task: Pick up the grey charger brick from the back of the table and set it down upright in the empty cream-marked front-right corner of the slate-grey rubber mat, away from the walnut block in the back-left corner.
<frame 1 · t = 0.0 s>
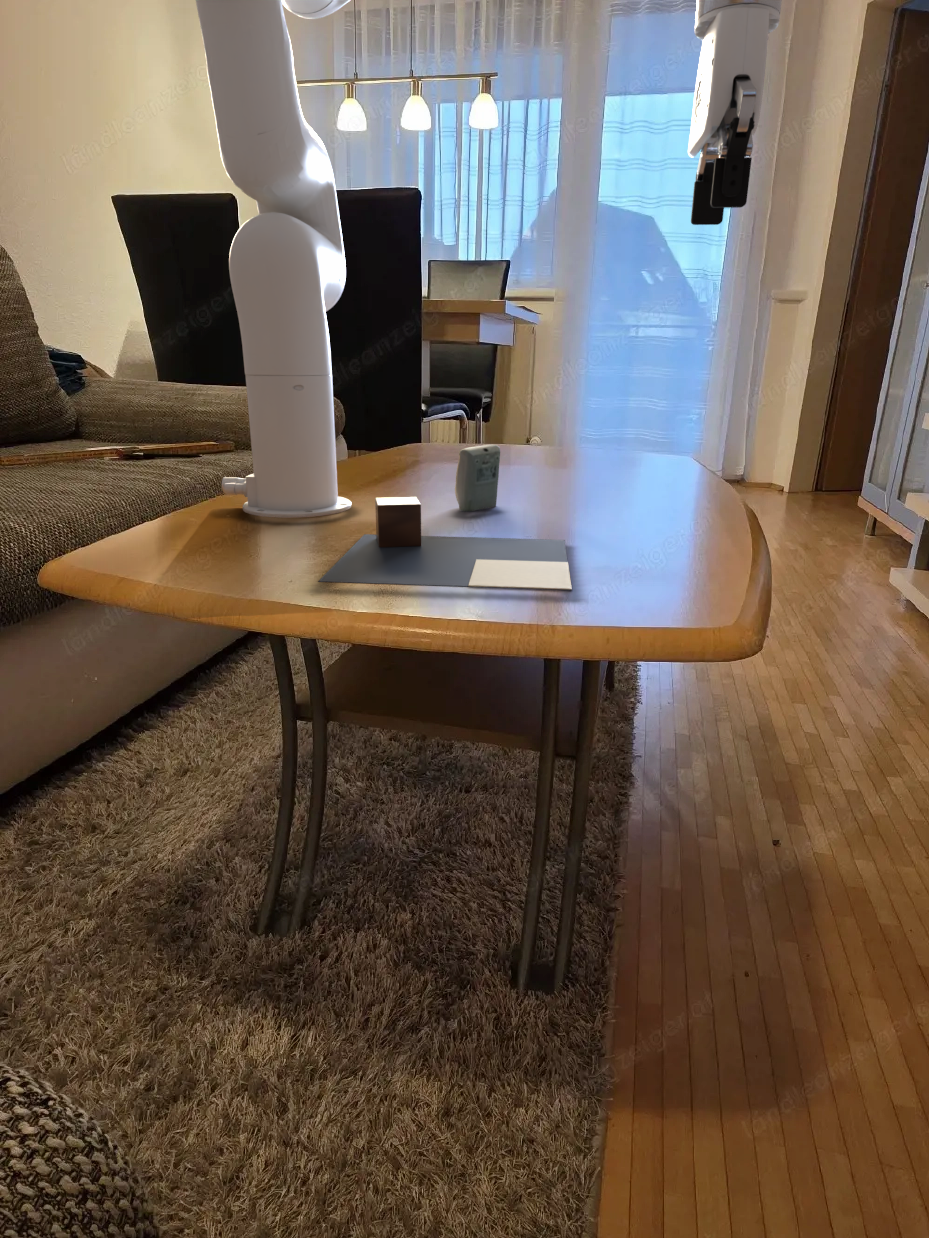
hand: (716, 216, 76), 31 cm above the table, tool pointing down, fingers open, 9 cm apart
grey charger brick: (475, 515, 90), on the table
mat: (454, 567, 67), on the table
walnut block: (398, 542, 73), point 1 cm above the table, touching mat
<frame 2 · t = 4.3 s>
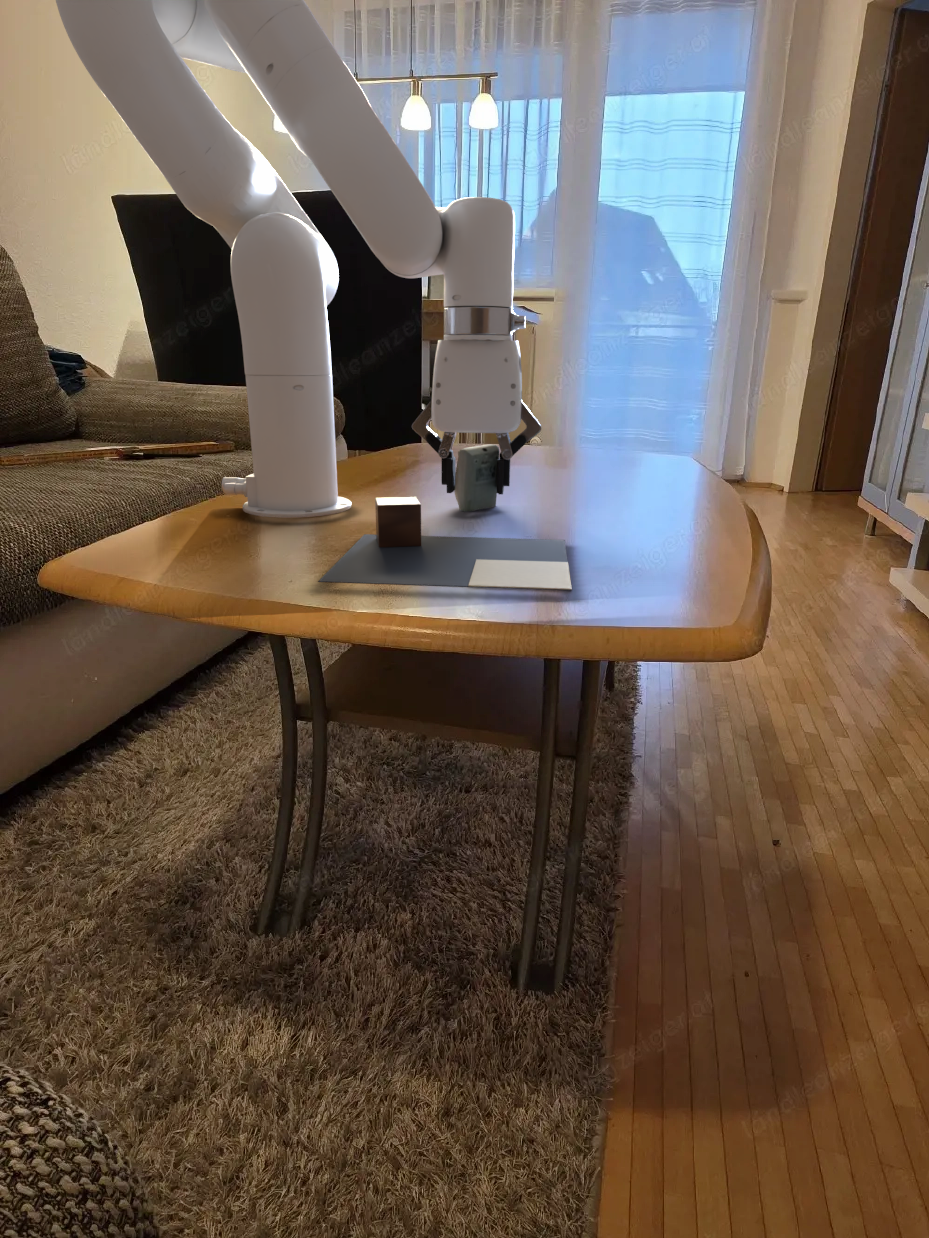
hand: (475, 490, 89), 3 cm above the table, tool pointing down, fingers closed on grey charger brick, 5 cm apart
grey charger brick: (475, 515, 90), on the table, touching gripper
everything else where it was.
when the fingers open (4 cm above the table, at t = 11.8 s): grey charger brick stays where it is, resting on mat.
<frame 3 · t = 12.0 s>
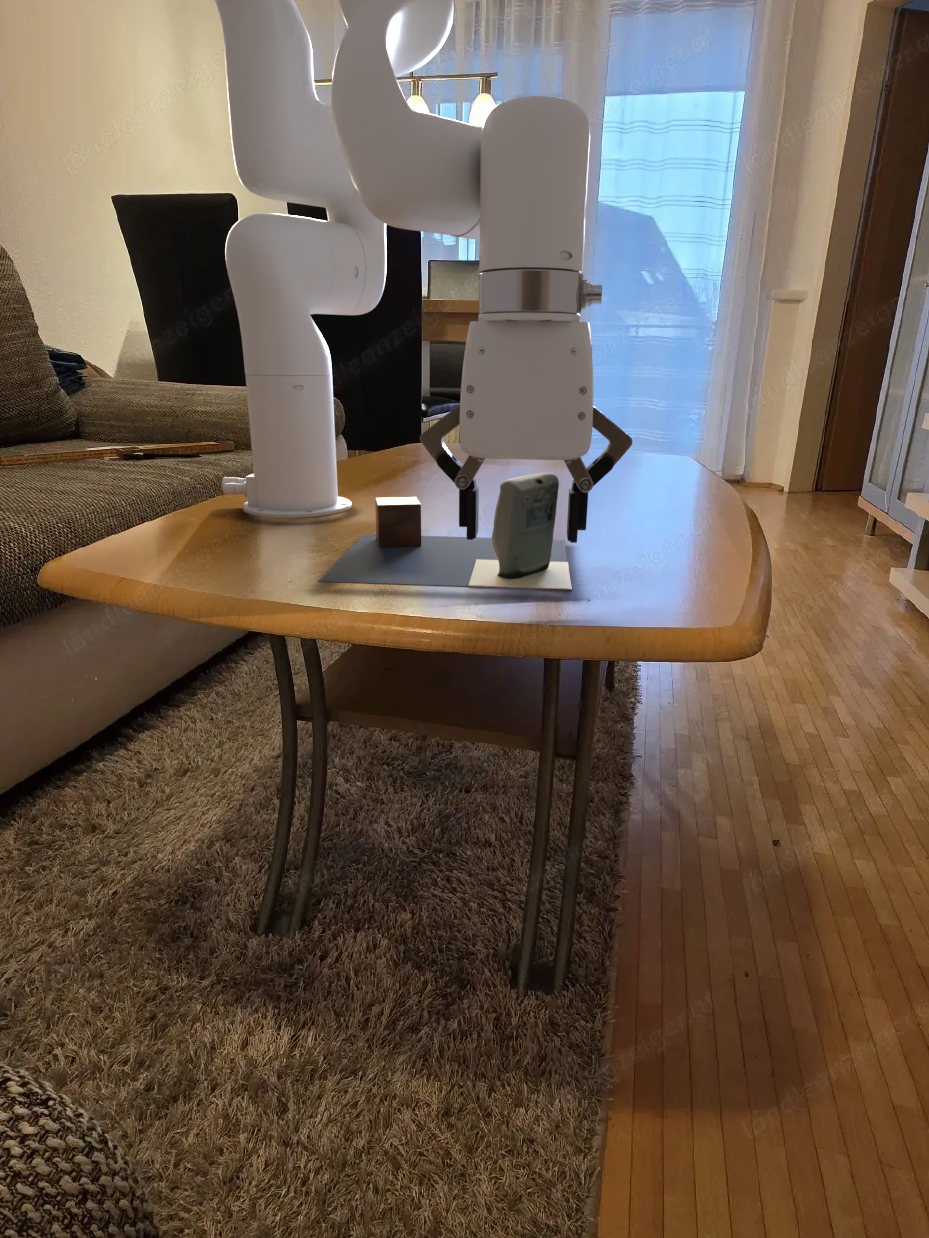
hand: (521, 536, 61), 4 cm above the table, tool pointing down, fingers open, 7 cm apart
grey charger brick: (521, 575, 62), point 1 cm above the table, touching mat
everything else where it was.
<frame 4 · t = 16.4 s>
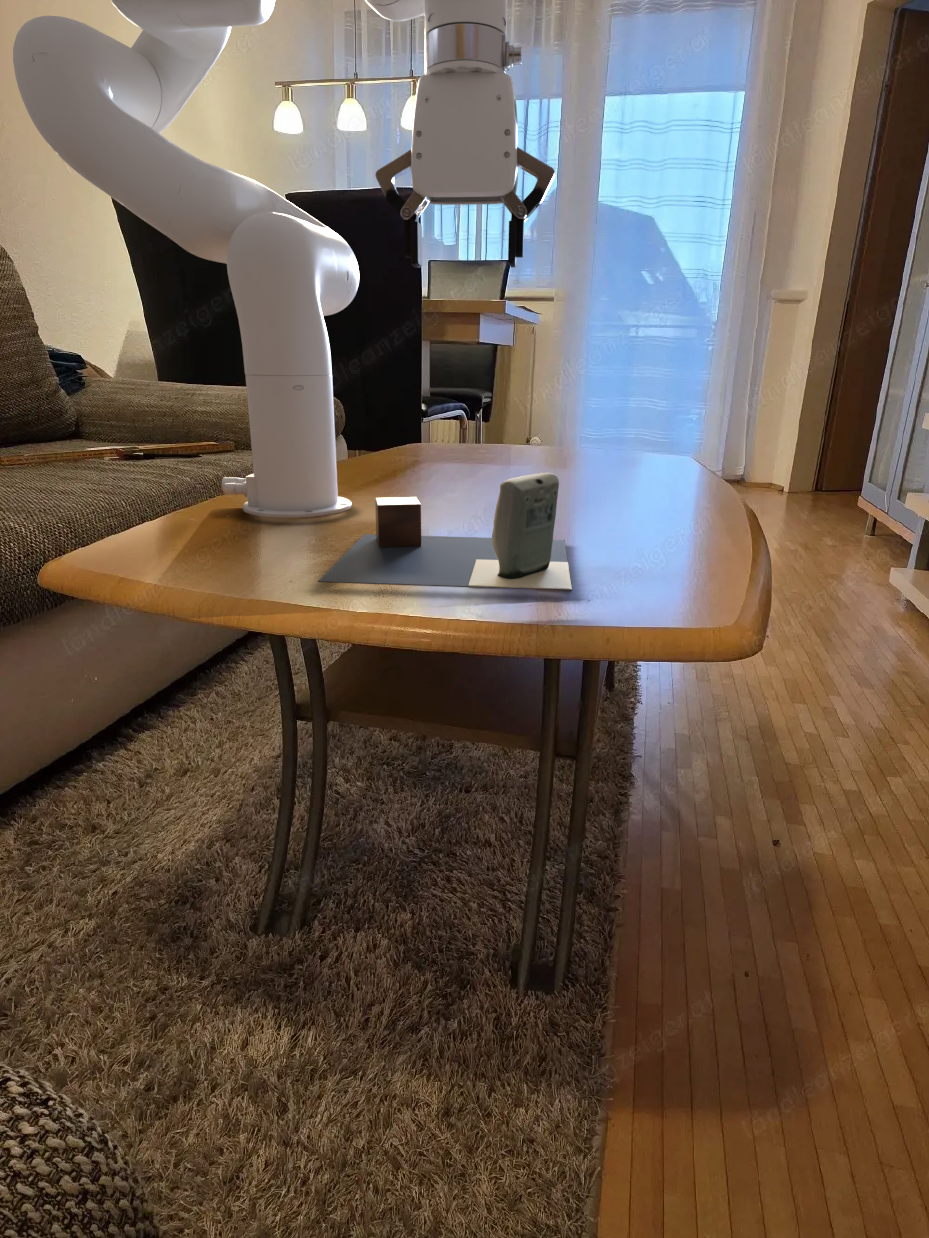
hand: (464, 266, 76), 26 cm above the table, tool pointing down, fingers open, 9 cm apart
nothing on the table moved.
at the end: grey charger brick inside the target area on the mat (0.4 cm from its centre), point 0.7 cm above the mat's base; grey charger brick tilted 0°; the gripper is holding nothing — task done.
